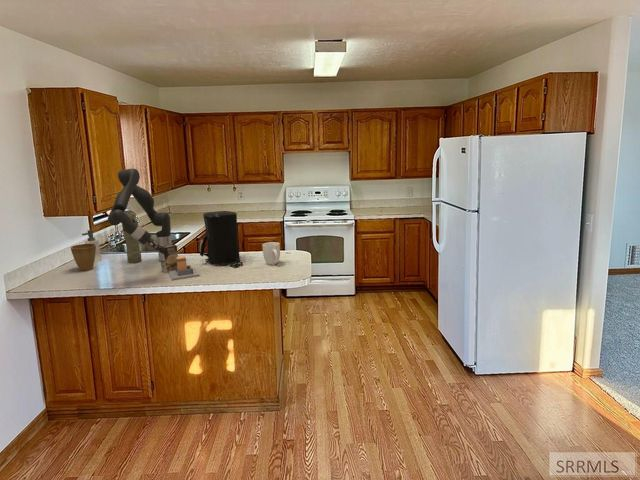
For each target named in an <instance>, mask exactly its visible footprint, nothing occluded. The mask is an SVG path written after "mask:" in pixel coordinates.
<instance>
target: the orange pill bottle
mask: <svg viewBox="0 0 640 480" xmlns="http://www.w3.org/2000/svg"><path fill="white" fill-rule="evenodd" d="M176 260H177V268H178V271H179V270H186V269H187V266H188V265H187V258H186V256H185V255H183V256H182V255H181V256H178V257H176Z"/></svg>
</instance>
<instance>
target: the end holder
mask: <svg viewBox="0 0 640 480" xmlns="http://www.w3.org/2000/svg"><path fill="white" fill-rule="evenodd" d="M175 268H176V270H174V271H169V272H168V274H169V277H170V279H171V281H177V280H184V279H189V278H190V279H191V278H198V277H200V273H199V271H198V270H197V269H196V267H192V265H190V264H189V265H187V269H186V270H179V271H178V268H177V267H175Z"/></svg>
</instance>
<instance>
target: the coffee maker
mask: <svg viewBox="0 0 640 480" xmlns="http://www.w3.org/2000/svg"><path fill="white" fill-rule="evenodd" d="M237 215H238V213H237V212H234V211H230V210H229V211H228V210H218V211H209V212H203V215H202V217H203V222H204V228H205V235H204V236H203V237H202V238H201V240H200V244H199V256H201V257H204V256H205V257H207V258H205V262H207V263H208V264H209V265H210V264H211V265H214V266H219V267H221V266H222V267H225V266H229V267H232V268H237V267H240V266H243V265H244V262H243V261H241V259H240V248H239V239H238V219H237ZM206 243H207V244H206ZM206 248H207V252H206V253H205V249H206Z"/></svg>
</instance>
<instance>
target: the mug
mask: <svg viewBox="0 0 640 480" xmlns="http://www.w3.org/2000/svg"><path fill="white" fill-rule="evenodd" d="M262 254H263V258H264V261H265V263H266V264H267V265H269V266H274V265H277V264H278V263H279V261H280V256H281V246H280V242H274V241H269V242H265V243H263V244H262Z"/></svg>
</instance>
